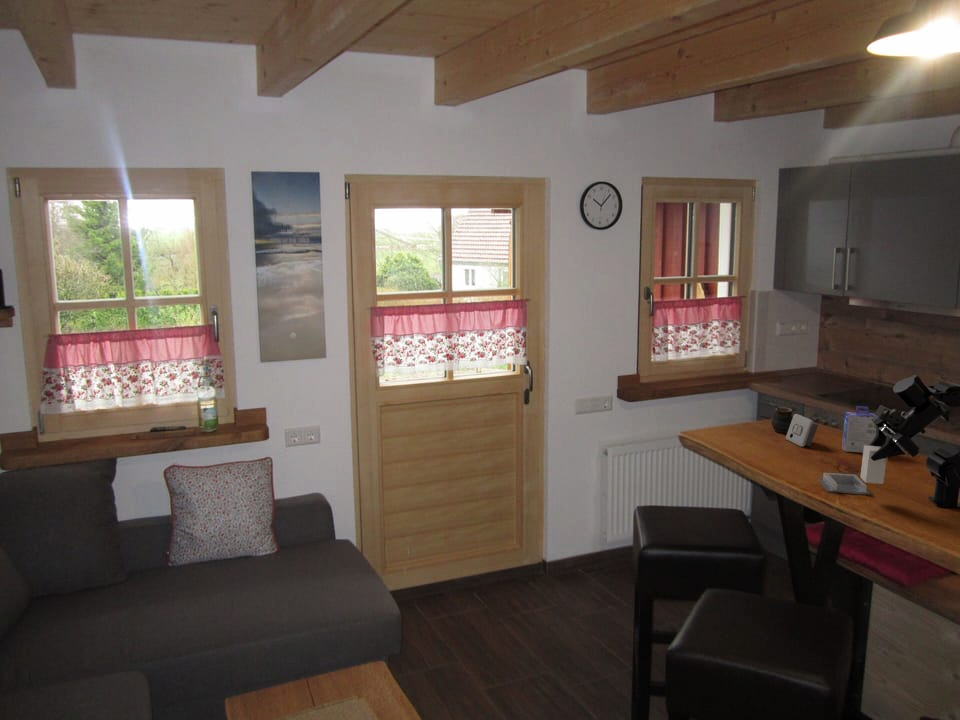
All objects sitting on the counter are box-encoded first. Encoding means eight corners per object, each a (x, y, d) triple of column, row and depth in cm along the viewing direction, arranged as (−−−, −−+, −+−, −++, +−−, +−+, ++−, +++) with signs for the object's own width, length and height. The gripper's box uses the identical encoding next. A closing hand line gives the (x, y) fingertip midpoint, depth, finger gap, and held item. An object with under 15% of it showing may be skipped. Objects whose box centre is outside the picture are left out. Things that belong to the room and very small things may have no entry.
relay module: (884, 484, 209) (888, 451, 207) (865, 482, 209) (869, 450, 208) (878, 478, 213) (882, 446, 211) (860, 477, 214) (864, 445, 212)
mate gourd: (797, 432, 275) (800, 404, 272) (783, 435, 271) (786, 407, 269) (780, 427, 281) (782, 400, 278) (766, 430, 277) (768, 403, 275)
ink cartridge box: (872, 449, 257) (878, 406, 254) (877, 454, 252) (883, 410, 249) (840, 446, 259) (845, 404, 256) (844, 452, 254) (849, 408, 251)
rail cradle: (870, 495, 216) (871, 486, 215) (828, 492, 217) (828, 483, 217) (858, 482, 226) (859, 474, 225) (818, 479, 227) (818, 471, 227)
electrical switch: (784, 439, 266) (789, 413, 265) (798, 440, 267) (803, 413, 266) (801, 448, 257) (807, 420, 256) (815, 448, 258) (820, 421, 257)
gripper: (885, 388, 215) (838, 425, 219) (911, 405, 197) (860, 445, 201) (912, 417, 216) (865, 454, 219) (941, 437, 197) (889, 476, 201)
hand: (868, 456), depth 210 cm, fingers closed on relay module, 4 cm apart
